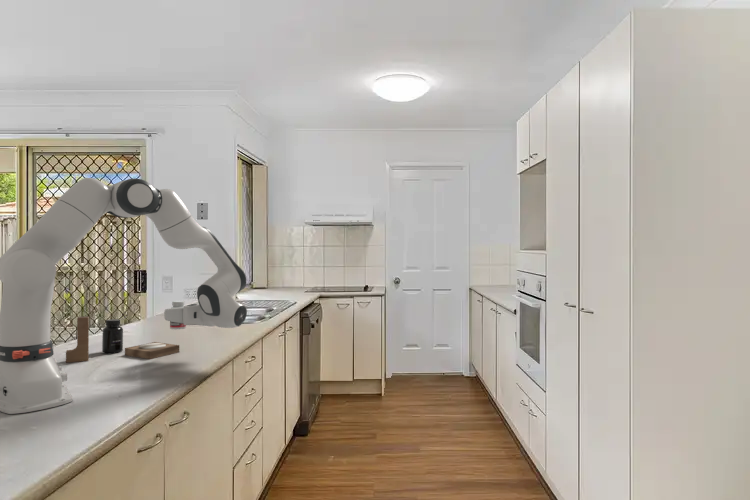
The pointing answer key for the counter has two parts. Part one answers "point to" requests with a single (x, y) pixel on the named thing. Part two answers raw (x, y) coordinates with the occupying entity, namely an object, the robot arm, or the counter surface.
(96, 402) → the counter surface
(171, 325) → the pill bottle
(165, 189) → the robot arm
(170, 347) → the walnut base
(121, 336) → the supplement bottle
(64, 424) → the counter surface
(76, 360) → the wooden block
